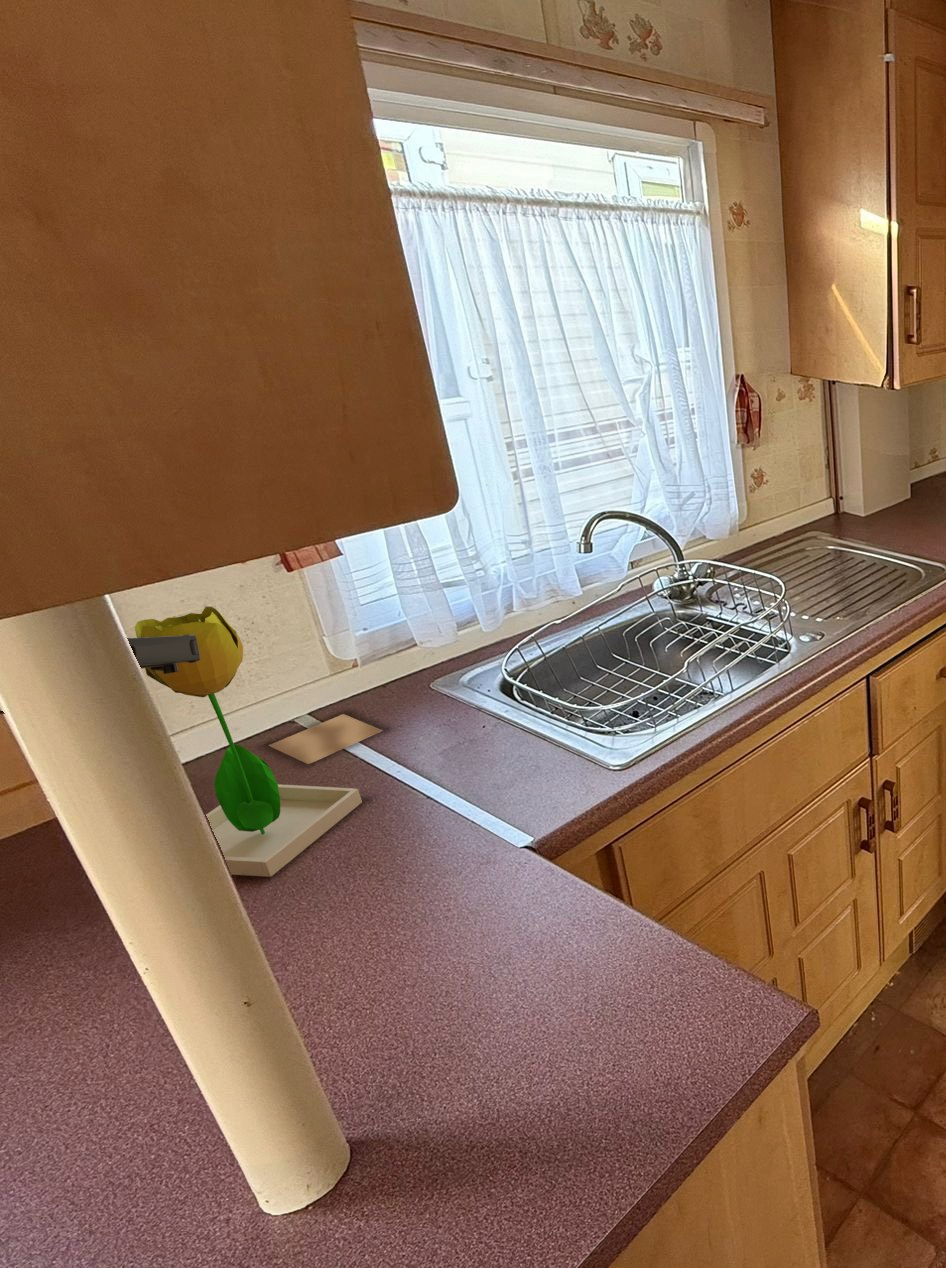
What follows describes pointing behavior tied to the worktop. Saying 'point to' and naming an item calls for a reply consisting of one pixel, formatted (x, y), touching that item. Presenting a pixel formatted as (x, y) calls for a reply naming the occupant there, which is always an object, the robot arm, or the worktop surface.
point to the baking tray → (283, 828)
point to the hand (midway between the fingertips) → (72, 671)
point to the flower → (220, 713)
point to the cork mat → (325, 738)
